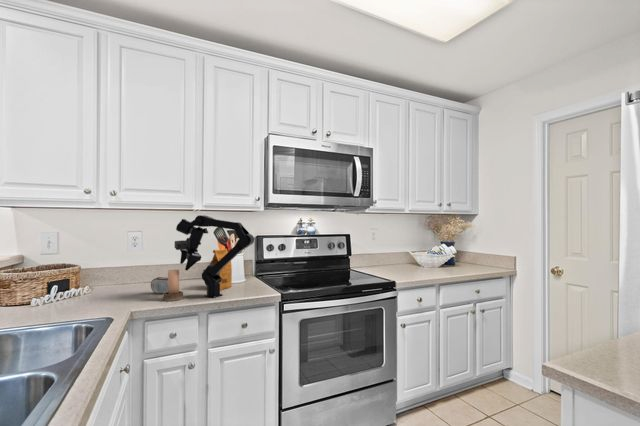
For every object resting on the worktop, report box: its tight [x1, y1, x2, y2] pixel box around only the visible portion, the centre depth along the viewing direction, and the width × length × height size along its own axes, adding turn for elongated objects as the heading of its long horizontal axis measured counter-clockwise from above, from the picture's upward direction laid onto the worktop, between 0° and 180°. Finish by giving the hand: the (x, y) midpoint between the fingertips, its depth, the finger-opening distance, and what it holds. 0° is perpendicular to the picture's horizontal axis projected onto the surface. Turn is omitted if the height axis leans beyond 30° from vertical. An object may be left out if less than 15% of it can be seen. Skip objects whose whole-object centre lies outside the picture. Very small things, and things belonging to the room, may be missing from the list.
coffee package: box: [209, 248, 233, 291], centre depth 187 cm, size 10×12×22 cm
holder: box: [162, 290, 184, 302], centre depth 162 cm, size 9×9×3 cm
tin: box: [150, 276, 168, 295], centre depth 175 cm, size 15×3×8 cm, turn 74°
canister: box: [167, 269, 180, 295], centre depth 162 cm, size 5×5×13 cm
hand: (183, 266), depth 169 cm, fingers open, 9 cm apart
